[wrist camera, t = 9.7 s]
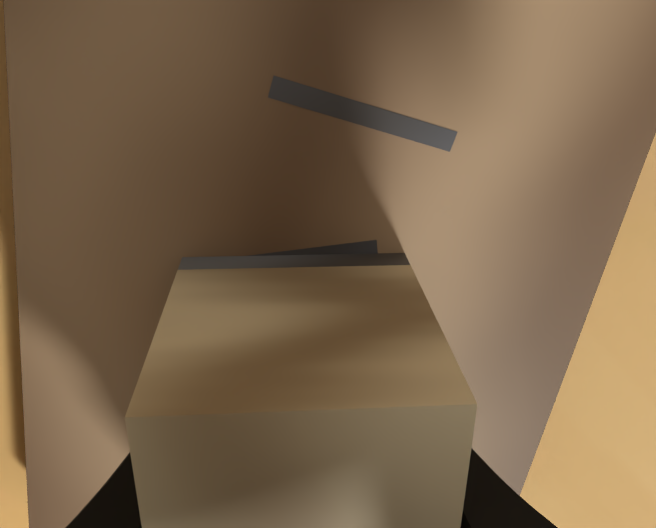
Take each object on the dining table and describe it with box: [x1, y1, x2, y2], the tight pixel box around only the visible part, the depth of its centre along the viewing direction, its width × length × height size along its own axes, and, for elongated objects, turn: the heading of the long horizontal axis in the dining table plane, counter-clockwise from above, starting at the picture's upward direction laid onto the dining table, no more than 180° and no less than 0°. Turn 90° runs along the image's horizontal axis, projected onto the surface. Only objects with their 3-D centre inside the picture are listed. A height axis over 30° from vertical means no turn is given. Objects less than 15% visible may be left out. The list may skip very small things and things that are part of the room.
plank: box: [3, 0, 656, 528], centre depth 12 cm, size 12×22×1 cm, turn 171°
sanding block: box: [125, 253, 477, 528], centre depth 12 cm, size 4×8×5 cm, turn 179°
